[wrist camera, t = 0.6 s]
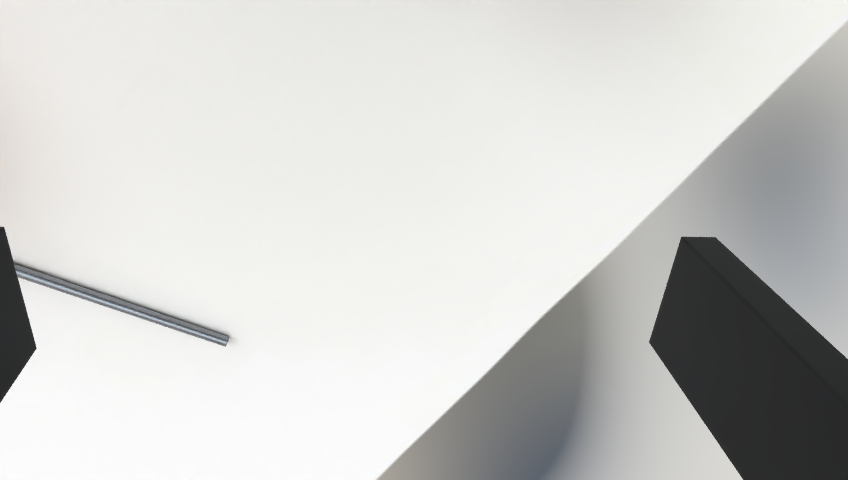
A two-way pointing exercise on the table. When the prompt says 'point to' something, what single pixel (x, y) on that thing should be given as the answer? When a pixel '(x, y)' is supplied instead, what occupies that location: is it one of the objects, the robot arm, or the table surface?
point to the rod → (120, 305)
